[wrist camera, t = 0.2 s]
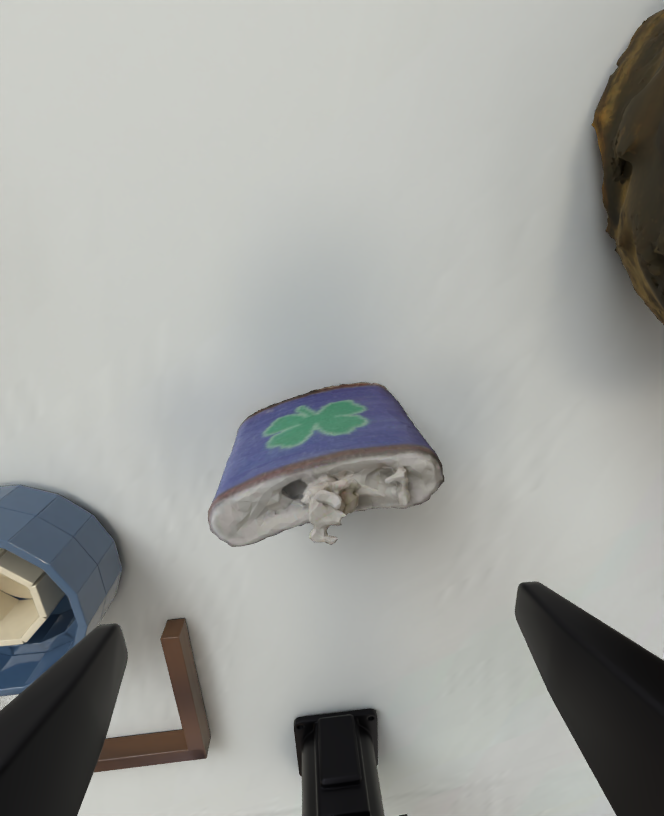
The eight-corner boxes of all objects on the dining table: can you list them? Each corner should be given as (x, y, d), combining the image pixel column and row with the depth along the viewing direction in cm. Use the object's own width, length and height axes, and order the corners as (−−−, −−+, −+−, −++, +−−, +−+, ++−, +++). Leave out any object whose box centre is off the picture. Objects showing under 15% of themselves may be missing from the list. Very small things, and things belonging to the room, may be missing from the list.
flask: (246, 455, 23) (206, 593, 13) (230, 410, 22) (175, 520, 12) (396, 417, 23) (474, 525, 13) (387, 371, 22) (463, 448, 12)
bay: (211, 736, 30) (206, 758, 29) (-10, 763, 29) (-25, 787, 28) (185, 617, 27) (178, 637, 25) (-70, 644, 26) (-91, 665, 24)
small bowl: (87, 593, 25) (55, 640, 22) (-4, 602, 24) (-50, 651, 21) (63, 520, 23) (25, 559, 20) (-35, 528, 23) (-90, 570, 19)
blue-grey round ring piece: (139, 614, 26) (106, 684, 22) (-27, 631, 26) (-97, 707, 21) (102, 474, 23) (53, 522, 18) (-91, 489, 22) (-191, 543, 18)
